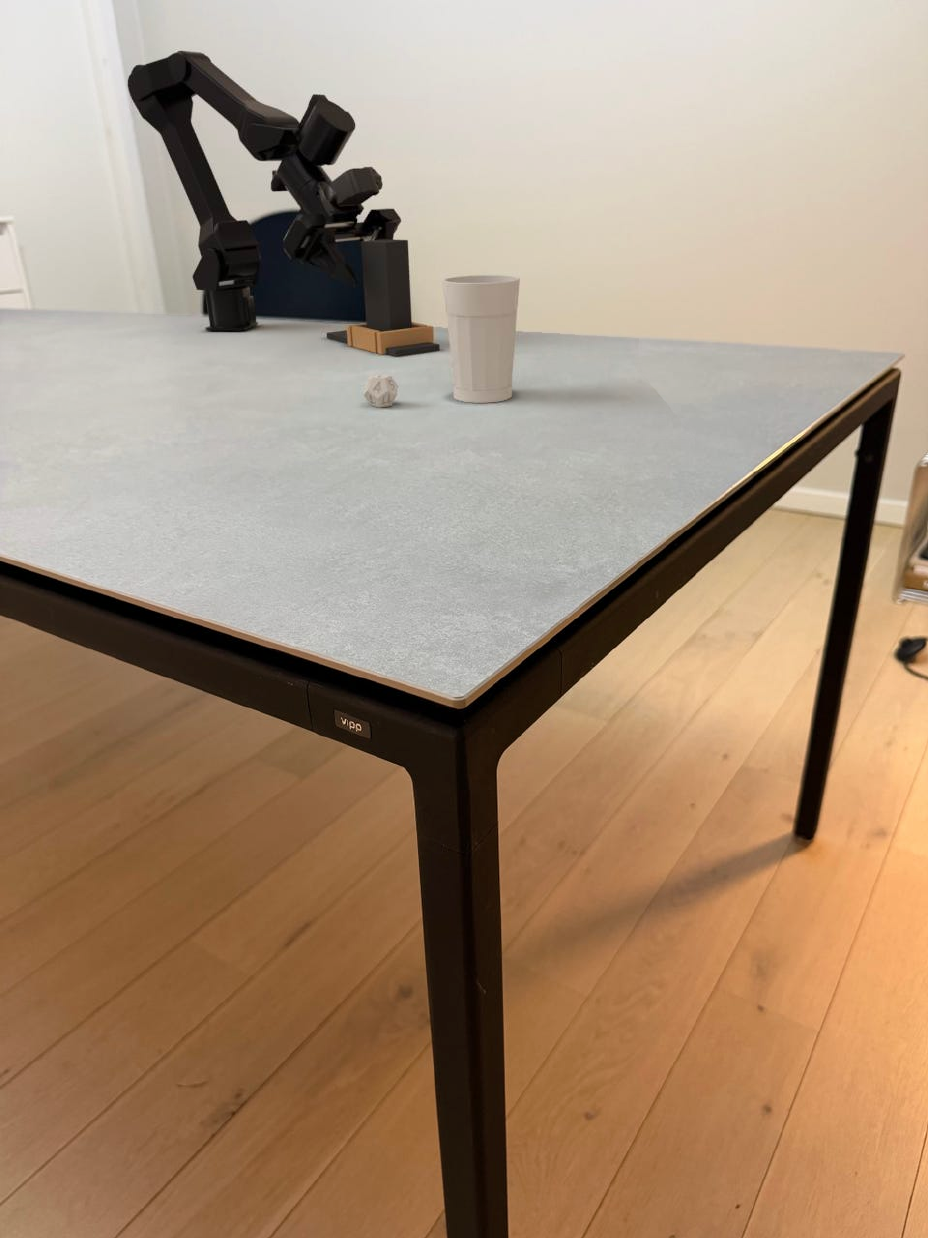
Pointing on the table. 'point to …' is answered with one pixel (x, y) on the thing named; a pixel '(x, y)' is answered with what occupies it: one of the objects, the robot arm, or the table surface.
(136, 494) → the table surface
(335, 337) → the wooden tray on slab
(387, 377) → the game die
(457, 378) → the cup
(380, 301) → the dark rectangular block
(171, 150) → the robot arm
